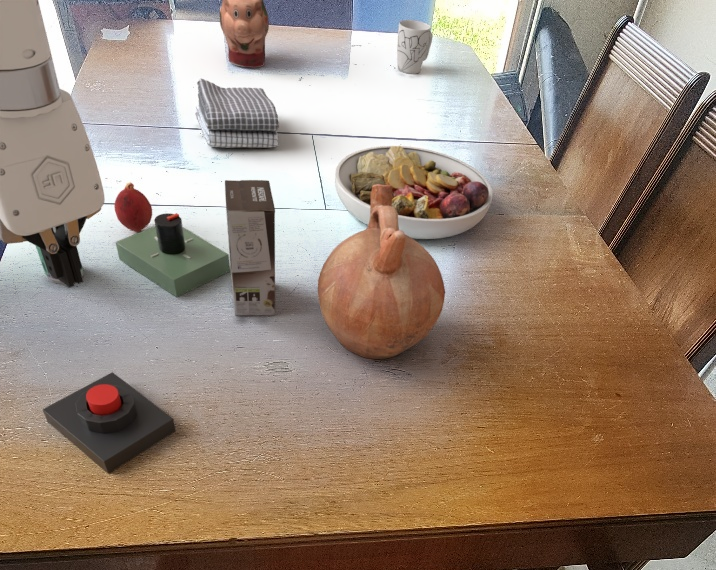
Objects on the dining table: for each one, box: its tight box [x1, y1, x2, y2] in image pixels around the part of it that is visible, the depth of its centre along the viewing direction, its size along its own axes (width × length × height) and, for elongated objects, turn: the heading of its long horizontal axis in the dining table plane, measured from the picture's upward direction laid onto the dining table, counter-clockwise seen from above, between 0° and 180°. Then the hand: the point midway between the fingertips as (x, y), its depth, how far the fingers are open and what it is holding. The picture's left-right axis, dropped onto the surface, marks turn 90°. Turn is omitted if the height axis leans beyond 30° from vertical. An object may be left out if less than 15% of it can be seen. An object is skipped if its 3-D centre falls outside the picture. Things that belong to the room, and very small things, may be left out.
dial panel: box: [115, 225, 231, 298], centre depth 96 cm, size 14×11×3 cm
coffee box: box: [224, 179, 276, 316], centre depth 88 cm, size 9×6×16 cm
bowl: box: [334, 145, 493, 240], centre depth 115 cm, size 30×30×8 cm
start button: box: [86, 384, 121, 416], centre depth 72 cm, size 4×4×2 cm
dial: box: [154, 212, 185, 254], centre depth 93 cm, size 4×4×5 cm
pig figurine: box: [219, 0, 270, 68], centre depth 152 cm, size 20×12×14 cm, turn 10°
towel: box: [195, 78, 280, 149], centre depth 127 cm, size 15×18×8 cm
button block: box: [42, 371, 177, 475], centre depth 74 cm, size 12×10×4 cm
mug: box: [396, 19, 433, 75], centre depth 163 cm, size 11×8×10 cm
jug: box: [317, 184, 446, 360], centre depth 84 cm, size 18×18×20 cm
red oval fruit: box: [113, 181, 153, 233], centre depth 100 cm, size 6×6×8 cm
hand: (68, 279), depth 64 cm, fingers closed
